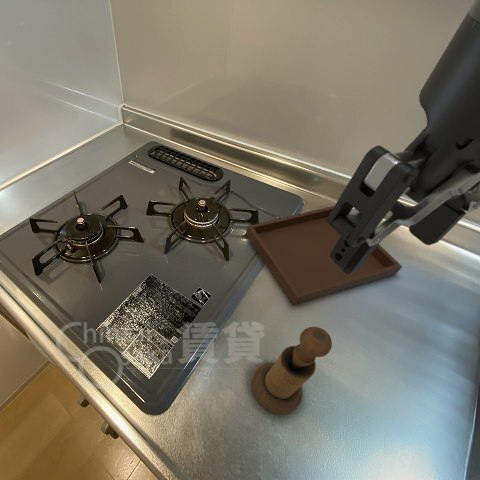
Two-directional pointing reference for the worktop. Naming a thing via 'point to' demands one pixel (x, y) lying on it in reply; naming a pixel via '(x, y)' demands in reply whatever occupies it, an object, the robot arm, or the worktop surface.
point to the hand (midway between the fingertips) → (382, 250)
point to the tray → (312, 256)
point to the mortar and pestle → (289, 372)
